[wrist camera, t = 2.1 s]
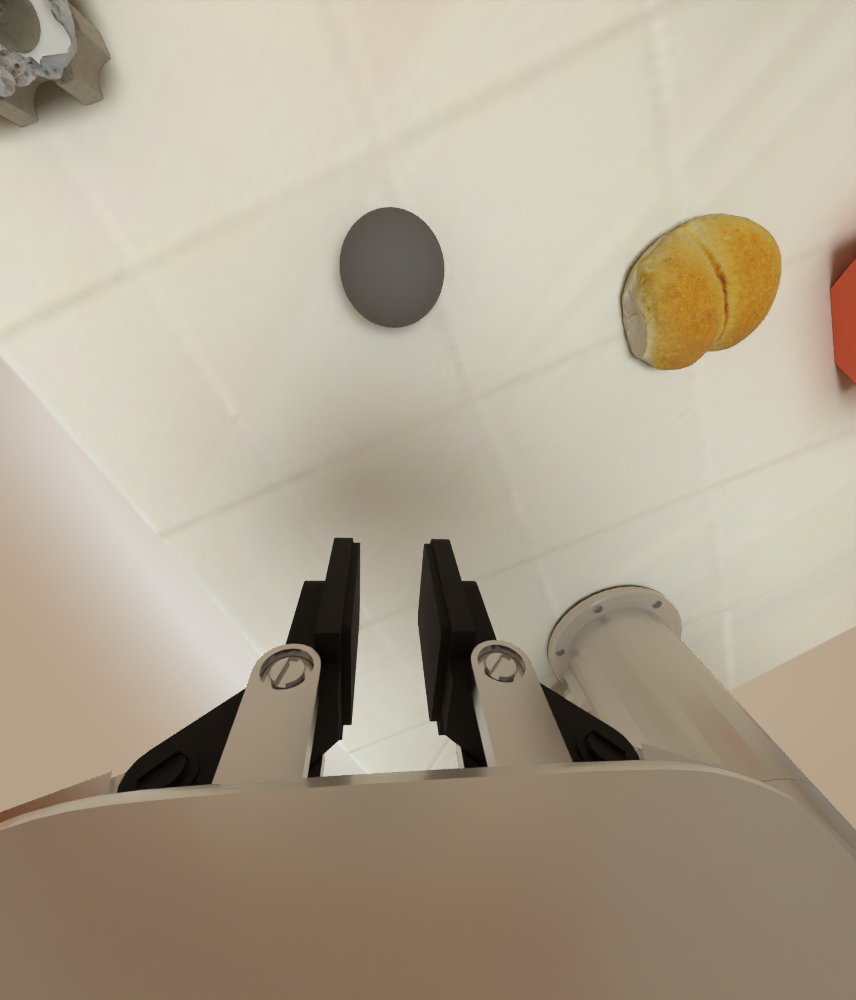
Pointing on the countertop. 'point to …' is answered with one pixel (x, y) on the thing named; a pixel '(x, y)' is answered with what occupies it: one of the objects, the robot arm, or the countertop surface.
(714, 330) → the bread roll
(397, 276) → the dark gray ball
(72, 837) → the robot arm
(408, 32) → the countertop surface
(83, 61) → the egg carton
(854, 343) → the french fries container
